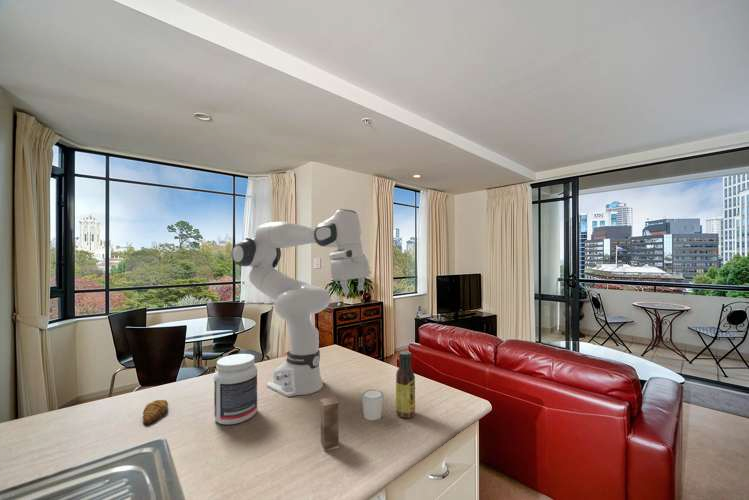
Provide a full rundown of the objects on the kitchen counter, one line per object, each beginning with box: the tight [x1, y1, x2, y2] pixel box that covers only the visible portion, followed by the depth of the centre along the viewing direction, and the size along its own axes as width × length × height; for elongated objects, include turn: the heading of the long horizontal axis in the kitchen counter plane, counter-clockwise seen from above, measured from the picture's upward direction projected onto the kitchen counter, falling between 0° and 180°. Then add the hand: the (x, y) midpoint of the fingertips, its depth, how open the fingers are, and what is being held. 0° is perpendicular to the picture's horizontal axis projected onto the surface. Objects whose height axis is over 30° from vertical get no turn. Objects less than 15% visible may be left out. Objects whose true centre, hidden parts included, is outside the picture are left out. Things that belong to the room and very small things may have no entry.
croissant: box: [142, 399, 169, 426], centre depth 101 cm, size 14×7×5 cm, turn 16°
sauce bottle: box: [395, 350, 416, 419], centre depth 101 cm, size 6×6×20 cm
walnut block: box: [320, 396, 340, 452], centre depth 85 cm, size 4×4×12 cm
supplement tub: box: [213, 353, 258, 425], centre depth 100 cm, size 13×13×18 cm
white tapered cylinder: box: [361, 389, 384, 421], centre depth 100 cm, size 7×7×7 cm
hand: (353, 291), depth 111 cm, fingers open, 8 cm apart
